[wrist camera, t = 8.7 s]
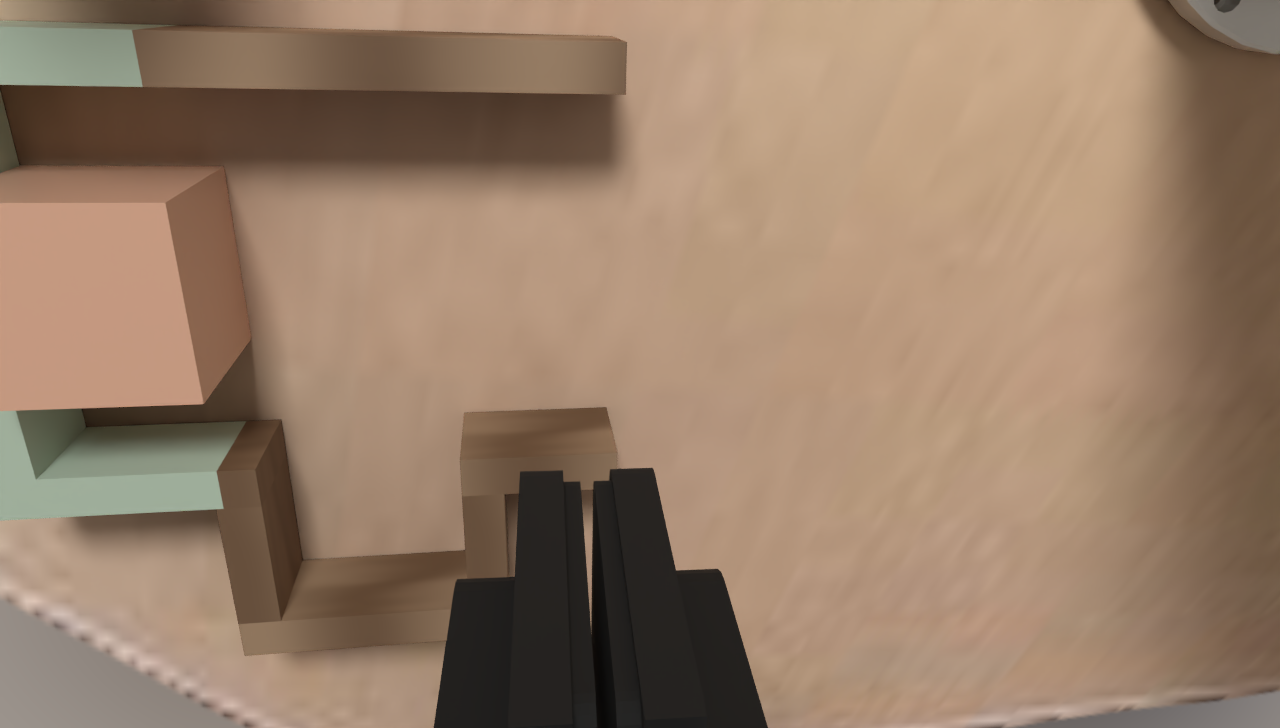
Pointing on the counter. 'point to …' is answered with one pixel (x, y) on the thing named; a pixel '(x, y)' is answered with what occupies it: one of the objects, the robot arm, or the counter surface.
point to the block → (117, 286)
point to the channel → (491, 441)
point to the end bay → (58, 438)
